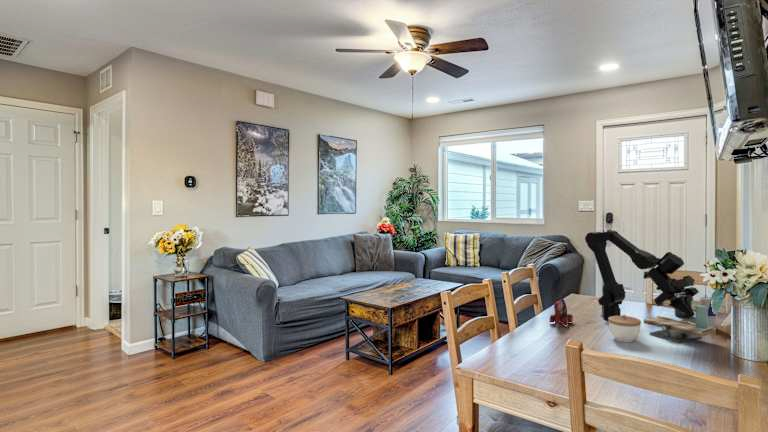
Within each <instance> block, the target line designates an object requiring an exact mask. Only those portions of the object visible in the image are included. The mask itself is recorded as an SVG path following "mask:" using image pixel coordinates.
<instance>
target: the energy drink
mask: <svg viewBox="0 0 768 432" xmlns="http://www.w3.org/2000/svg"><path fill="white" fill-rule="evenodd" d="M711 298H712V297H707V296H703V297H702V296H701V297H699V299H698V300H699V302H698V303H699V304H698V305H700V306H706V307H708V326H709V327H713V328H716V329H717V313H716V314H713V312H712V307H711Z"/></svg>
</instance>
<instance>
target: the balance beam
mask: <svg viewBox="0 0 768 432" xmlns="http://www.w3.org/2000/svg"><path fill="white" fill-rule="evenodd" d="M664 323H665V324H669V325H670V330H674V331H678V332H683V333H687V334H691V335H695V336H699V337H701V338H703V337H706V336H710V335H713V334H716V333H717V330H716V329H717V327H716V328H713V327H712V329H710V330H707V331H703V332H702V331H698V330H693V329H692V327H695V326H696V322H695V323H694V322H691V321H688V322H685V321H681V319H675V318H671V317H666V316H662V315H657V316H656V317H654V318H653V317H652V318H649V319H648V318H643V324H646V325H649V326H655V327H659V328H662V327H663V324H664Z"/></svg>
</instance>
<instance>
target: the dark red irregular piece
mask: <svg viewBox="0 0 768 432" xmlns="http://www.w3.org/2000/svg"><path fill="white" fill-rule="evenodd" d="M553 305H554V306H553V307H554V314H551V315H550V316H549V323H550V322H554V321H555V324H559V323H561V322H562V323H561V324H562V325H563V324H564V325H567V324H568V323H569V322H572V321H574V318H573V315H572V314H569V313H568V309H567V308H568V307H567V303H566V301H565V299H564V298H561V299H559V300H558V301H556V302H554V304H553ZM572 323H573V322H572ZM568 325H569V324H568Z"/></svg>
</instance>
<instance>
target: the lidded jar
mask: <svg viewBox="0 0 768 432" xmlns="http://www.w3.org/2000/svg"><path fill="white" fill-rule="evenodd" d="M607 321H608V327H609V332H610V334H611V335H612V336H613V337H614V338H615V340H616V341H619V342H623V343H633V342H634V341H635V340H636V339H637V338H638V337H639V336H640V332H641V323H642V321H641V319H639V318H636V317H633V316H627V315H626V314H622V315H621V316H611V317H609V318H608V320H607Z"/></svg>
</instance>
